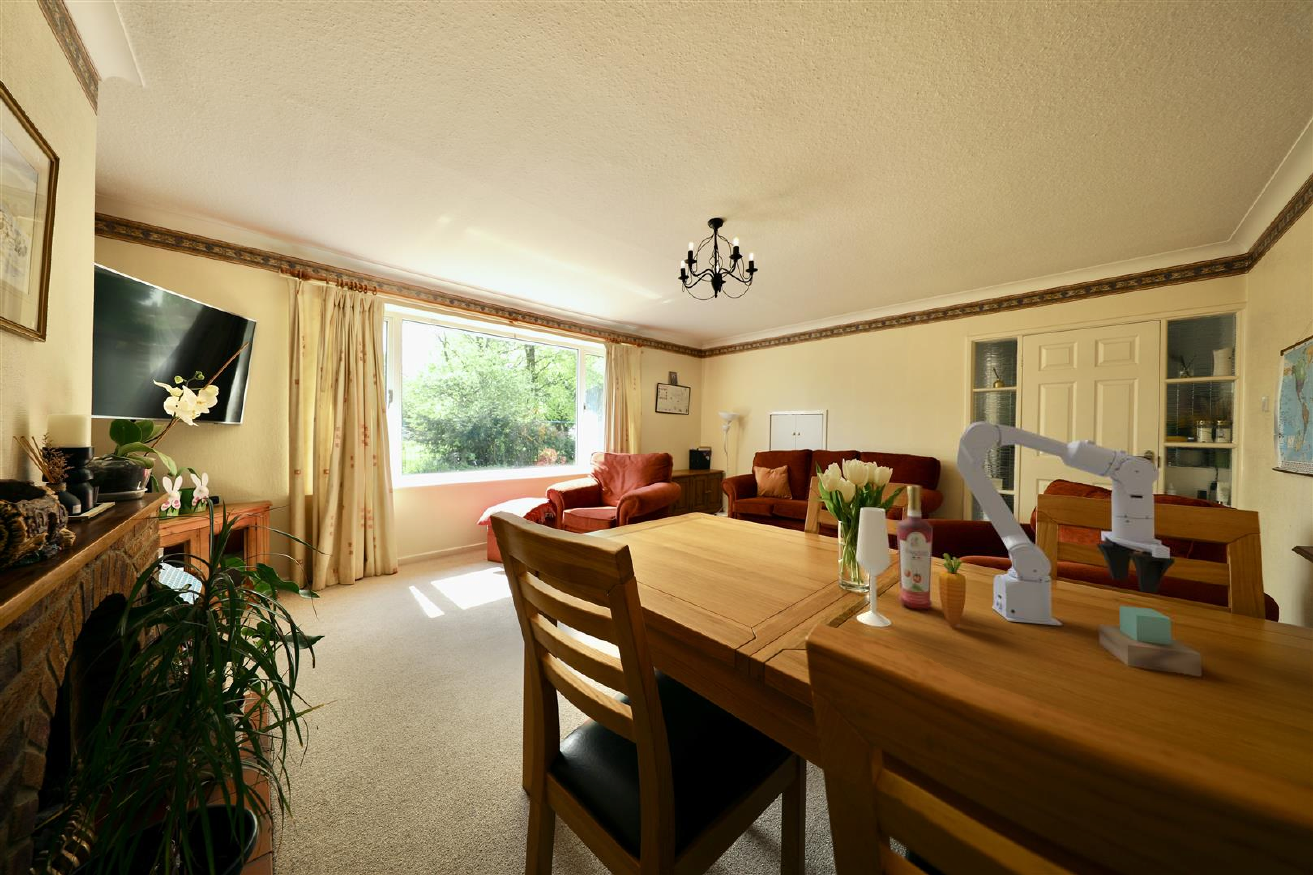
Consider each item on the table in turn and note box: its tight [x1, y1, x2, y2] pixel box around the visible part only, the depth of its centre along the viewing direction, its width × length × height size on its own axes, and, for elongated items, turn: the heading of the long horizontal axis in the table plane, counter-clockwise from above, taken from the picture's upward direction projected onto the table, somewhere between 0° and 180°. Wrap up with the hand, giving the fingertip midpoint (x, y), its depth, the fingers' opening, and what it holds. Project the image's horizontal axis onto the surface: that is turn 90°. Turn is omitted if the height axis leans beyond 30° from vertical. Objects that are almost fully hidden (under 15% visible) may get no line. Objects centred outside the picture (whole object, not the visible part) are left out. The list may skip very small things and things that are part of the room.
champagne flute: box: [855, 506, 892, 628], centre depth 95 cm, size 7×7×24 cm
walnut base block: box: [1098, 624, 1202, 677], centre depth 78 cm, size 9×9×4 cm
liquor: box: [896, 485, 934, 611], centre depth 103 cm, size 7×7×28 cm
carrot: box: [938, 553, 967, 629], centre depth 91 cm, size 5×5×15 cm
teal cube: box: [1118, 605, 1172, 645], centre depth 78 cm, size 4×4×4 cm
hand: (1133, 585), depth 87 cm, fingers open, 7 cm apart
